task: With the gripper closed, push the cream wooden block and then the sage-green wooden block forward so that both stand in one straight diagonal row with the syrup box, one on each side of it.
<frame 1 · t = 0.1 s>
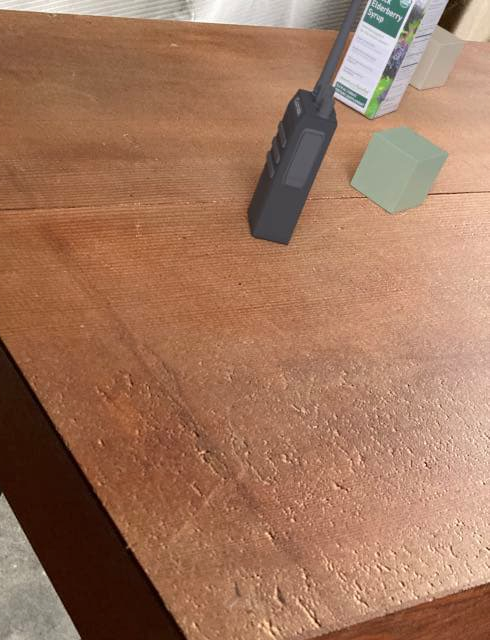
sage block: (385, 195, 89), on the table
syrup box: (361, 105, 103), on the table
cream block: (414, 77, 112), on the table
walkie-talkie: (264, 230, 79), on the table
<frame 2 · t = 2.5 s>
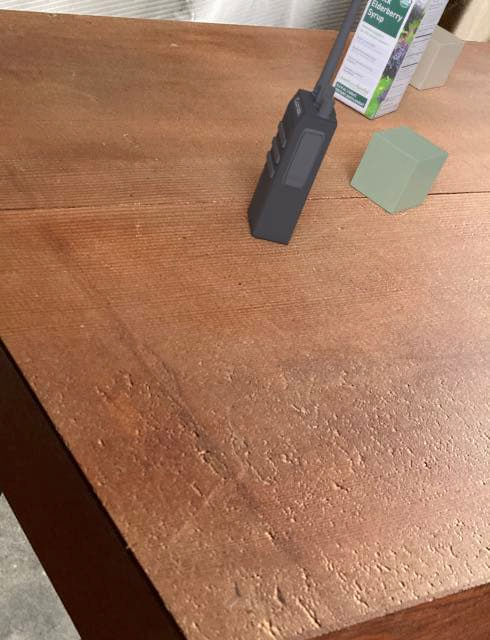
nothing on the table moved.
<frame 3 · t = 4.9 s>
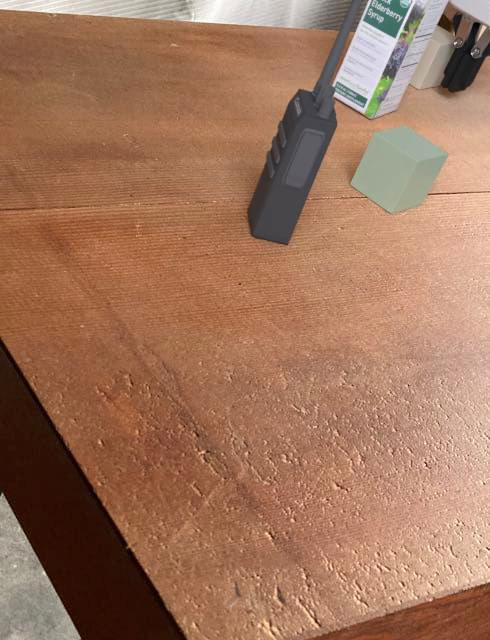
hand: (452, 87, 109), 1 cm above the table, tool pointing down, fingers closed
cream block: (413, 77, 112), on the table, touching gripper
everything else where it was.
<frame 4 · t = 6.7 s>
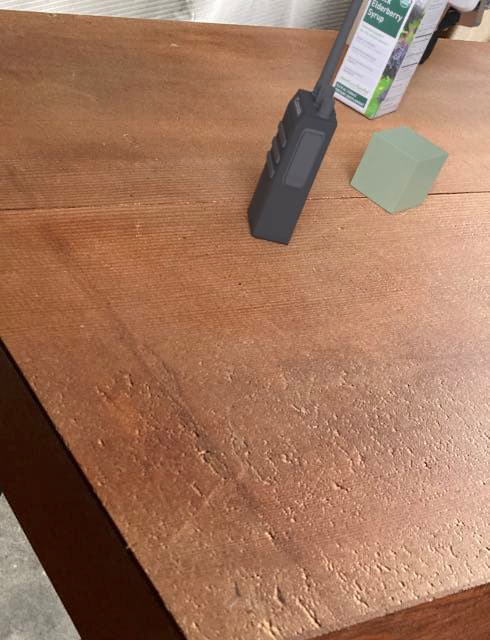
hand: (410, 61, 111), 1 cm above the table, tool pointing down, fingers closed
cream block: (373, 52, 114), on the table, touching gripper
everything else where it was.
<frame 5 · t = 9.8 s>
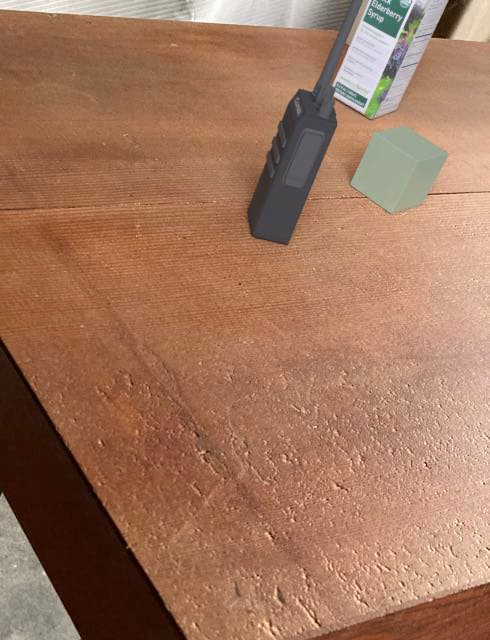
cream block: (373, 52, 114), on the table
everything else where it was.
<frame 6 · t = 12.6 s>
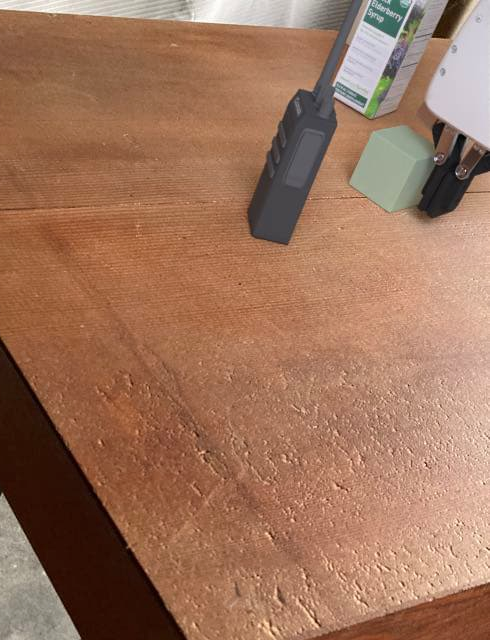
hand: (432, 210, 86), 1 cm above the table, tool pointing down, fingers closed
sage block: (384, 194, 89), on the table, touching gripper
everything else where it was.
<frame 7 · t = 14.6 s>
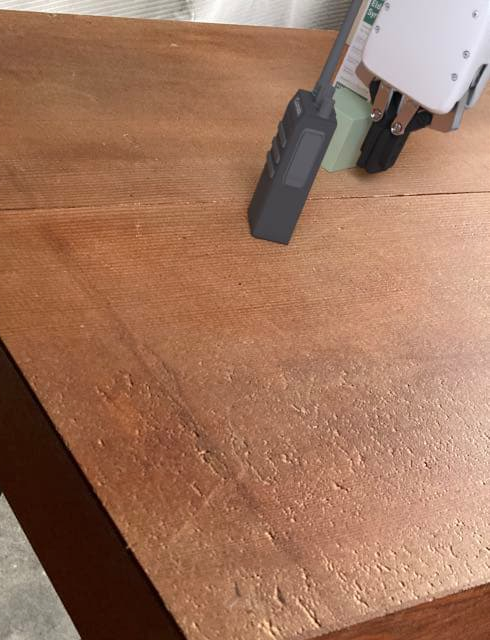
hand: (371, 167, 89), 1 cm above the table, tool pointing down, fingers closed
sage block: (326, 155, 92), on the table, touching gripper
everything else where it was.
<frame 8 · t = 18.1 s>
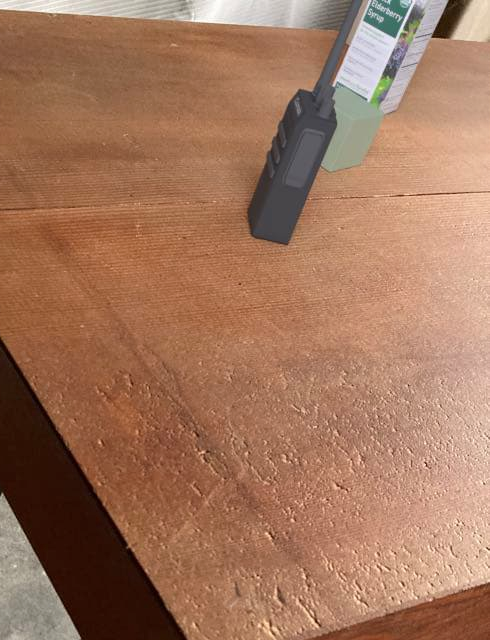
sage block: (326, 154, 92), on the table
everything else where it was.
at the end: cream block 1.3 cm from the target spot on the table beside the syrup box, on the table; sage block 1.2 cm from the target spot on the table beside the syrup box, on the table; syrup box moved 0.2 cm from its start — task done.
